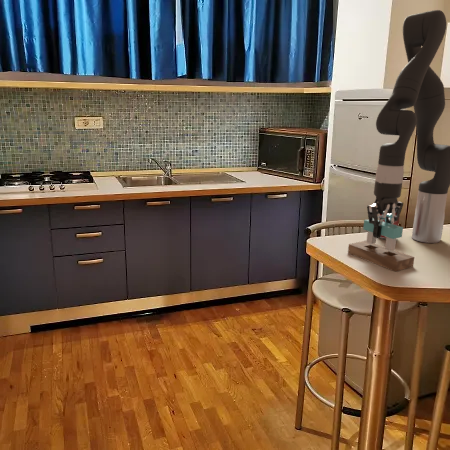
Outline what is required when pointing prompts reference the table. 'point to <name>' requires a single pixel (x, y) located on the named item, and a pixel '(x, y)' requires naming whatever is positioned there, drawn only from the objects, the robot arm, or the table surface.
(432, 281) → the table surface
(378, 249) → the board
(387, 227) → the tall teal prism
